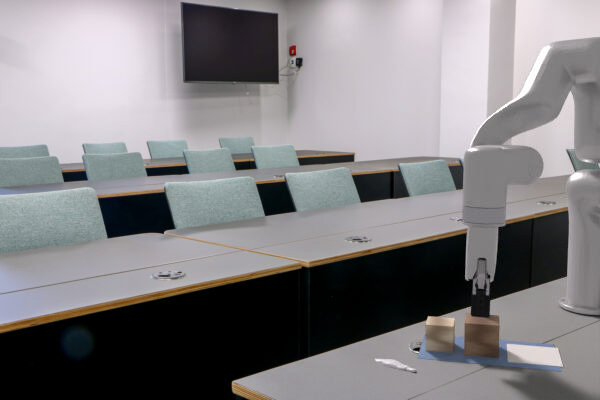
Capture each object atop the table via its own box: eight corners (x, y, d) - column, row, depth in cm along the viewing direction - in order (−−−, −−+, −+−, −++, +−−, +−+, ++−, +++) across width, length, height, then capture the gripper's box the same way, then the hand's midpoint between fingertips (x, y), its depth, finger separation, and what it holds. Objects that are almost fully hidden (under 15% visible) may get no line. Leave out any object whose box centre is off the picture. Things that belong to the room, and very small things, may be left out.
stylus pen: (420, 375, 107) (420, 365, 107) (411, 380, 106) (411, 369, 105) (354, 357, 118) (353, 347, 118) (345, 361, 116) (344, 351, 116)
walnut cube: (498, 346, 117) (499, 315, 117) (498, 358, 112) (499, 325, 111) (465, 343, 119) (465, 313, 118) (464, 355, 114) (464, 323, 113)
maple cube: (454, 343, 119) (454, 318, 119) (452, 353, 115) (453, 326, 114) (427, 341, 121) (428, 316, 120) (425, 350, 116) (425, 324, 115)
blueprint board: (556, 349, 118) (556, 344, 118) (564, 377, 106) (564, 371, 105) (424, 338, 125) (424, 333, 125) (417, 363, 113) (417, 357, 113)
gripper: (464, 209, 121) (461, 295, 123) (459, 222, 105) (456, 321, 107) (504, 210, 119) (501, 298, 121) (506, 224, 103) (503, 325, 105)
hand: (480, 309), depth 114 cm, fingers open, 9 cm apart
